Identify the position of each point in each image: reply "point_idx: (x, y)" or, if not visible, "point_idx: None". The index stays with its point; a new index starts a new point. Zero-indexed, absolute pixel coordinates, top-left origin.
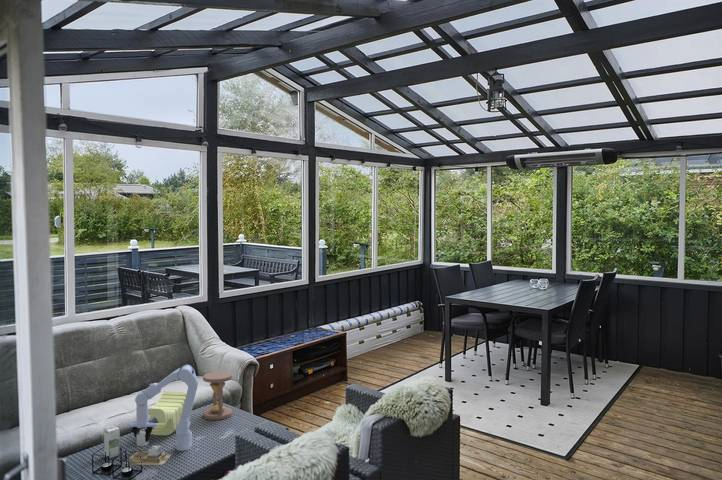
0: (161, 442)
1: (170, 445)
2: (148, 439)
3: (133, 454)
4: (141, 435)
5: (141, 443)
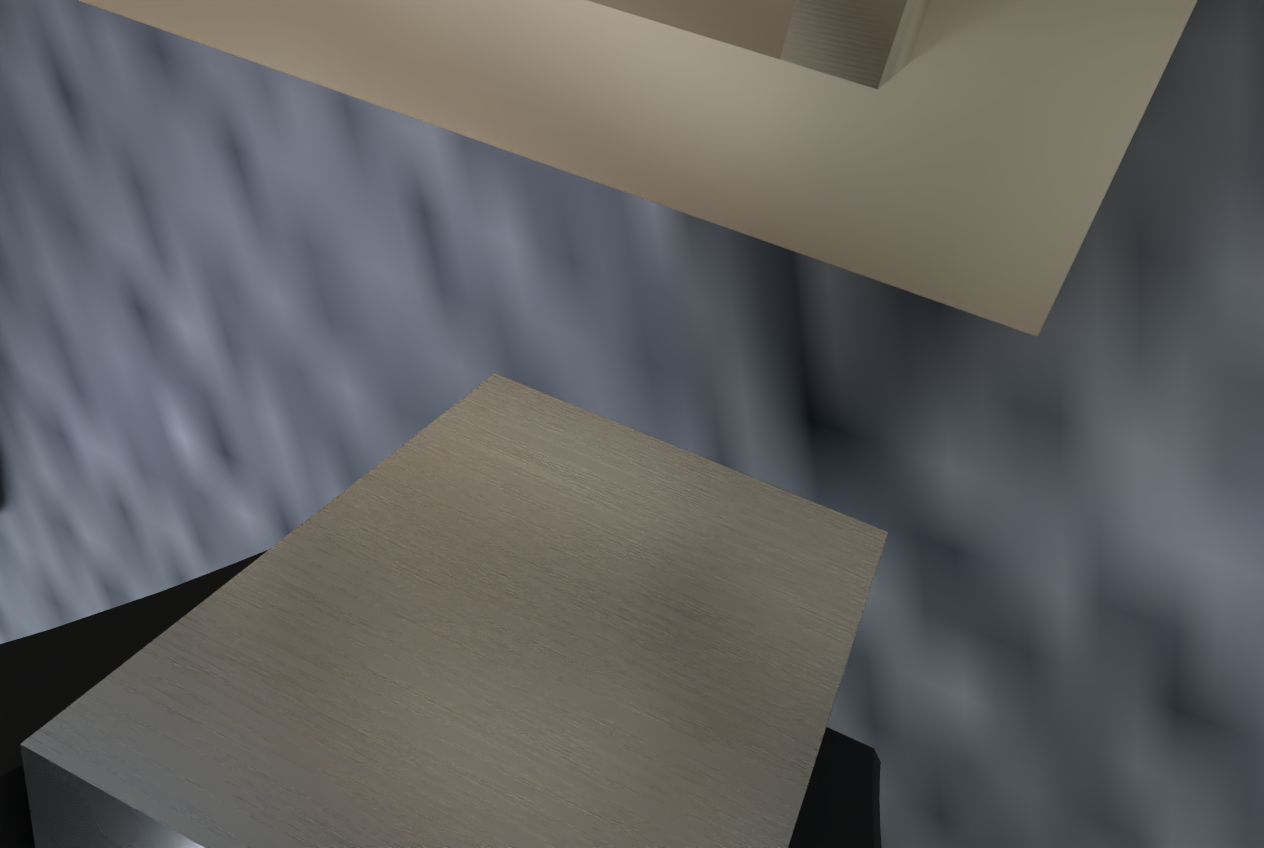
0: None
1: None
2: None
3: (1064, 206)
4: (334, 819)
5: (613, 497)
